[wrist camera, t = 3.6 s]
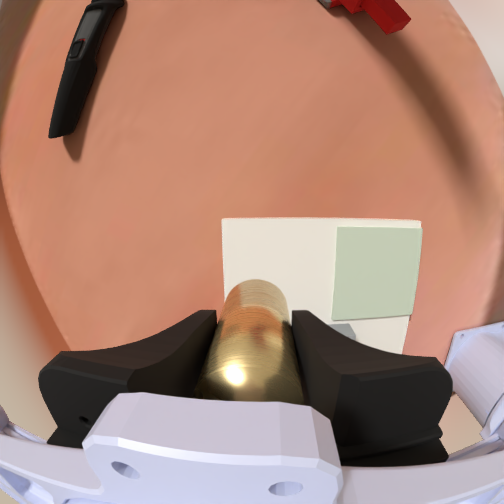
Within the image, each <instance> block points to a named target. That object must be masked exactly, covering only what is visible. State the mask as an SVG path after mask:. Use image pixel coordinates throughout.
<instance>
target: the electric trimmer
mask: <svg viewBox="0 0 504 504" xmlns="http://www.w3.org/2000/svg"><path fill="white" fill-rule="evenodd" d="M122 1H123V0H92V1H91V4H89V5H88V6H87V7H86V9H85V11H84V14H83V16H82V18H81V20H80V23H79V25H78V28H77V30H76V33H75V35H74V38H73V41H72V44H71V46H70V49H69V52H68V55H67V58H66V62H65V67H64V71H63V74H62V78H61V81H60V85H59V88H58V92H57V96H56V100H55V104H54V109H53V113H52V118H51V123H50V128H49V135H48V137H49V138H57V137H61V136H64V135H68V134H70V133H72V132H73V131H74V129H75V127H76V124H77V121H78V118H79V115H80V112H81V109H82V107H83V104H84V101H85V99H86V96H87V94H88V91H89V89H90V86H91V83H92V81H93V78H94V76H95V73H96V71H97V66H96V61H95V57H96V54H97V52H98V49H99V46H100V44H101V41H102V39H103V36H104V34H105V32H106V29H107V27H108V25H109V23H110V20H111V18H112V16H113V14H114V12H115V10H116V9H117V8H119V7H122V6H123V5H124V3H123V2H122Z"/></svg>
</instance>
